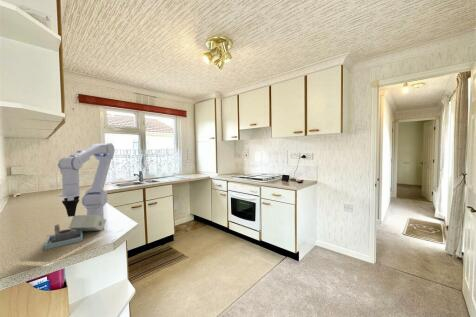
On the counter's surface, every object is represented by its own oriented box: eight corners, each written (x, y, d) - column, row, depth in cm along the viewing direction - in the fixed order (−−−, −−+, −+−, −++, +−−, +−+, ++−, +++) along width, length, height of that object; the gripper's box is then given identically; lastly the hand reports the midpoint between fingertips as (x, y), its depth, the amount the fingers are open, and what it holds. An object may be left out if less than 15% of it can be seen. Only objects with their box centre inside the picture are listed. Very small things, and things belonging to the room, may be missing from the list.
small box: (97, 214, 88) (73, 215, 87) (93, 227, 85) (67, 228, 84) (106, 219, 95) (83, 220, 94) (103, 231, 92) (79, 232, 91)
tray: (48, 242, 80) (48, 236, 80) (82, 235, 87) (82, 229, 87) (44, 252, 72) (44, 245, 72) (82, 243, 79) (82, 237, 79)
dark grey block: (52, 241, 79) (52, 232, 79) (74, 237, 83) (73, 228, 83) (51, 246, 75) (50, 236, 75) (73, 241, 79) (73, 231, 79)
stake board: (47, 236, 87) (47, 222, 87) (76, 230, 93) (76, 217, 93) (45, 242, 80) (44, 228, 80) (76, 236, 86) (76, 222, 86)
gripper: (60, 183, 90) (60, 212, 90) (57, 186, 79) (58, 220, 79) (79, 181, 95) (80, 209, 95) (79, 184, 84) (80, 216, 84)
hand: (71, 214), depth 87 cm, fingers open, 7 cm apart
